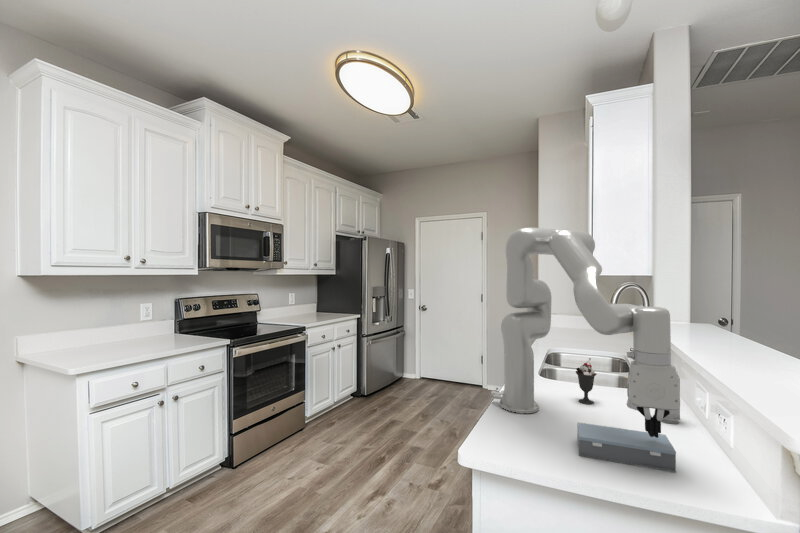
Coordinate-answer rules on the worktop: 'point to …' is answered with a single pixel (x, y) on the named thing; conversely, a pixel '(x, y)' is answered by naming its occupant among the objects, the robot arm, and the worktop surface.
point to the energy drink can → (673, 417)
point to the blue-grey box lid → (624, 438)
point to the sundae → (586, 381)
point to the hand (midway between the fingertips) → (652, 434)
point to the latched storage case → (627, 455)
